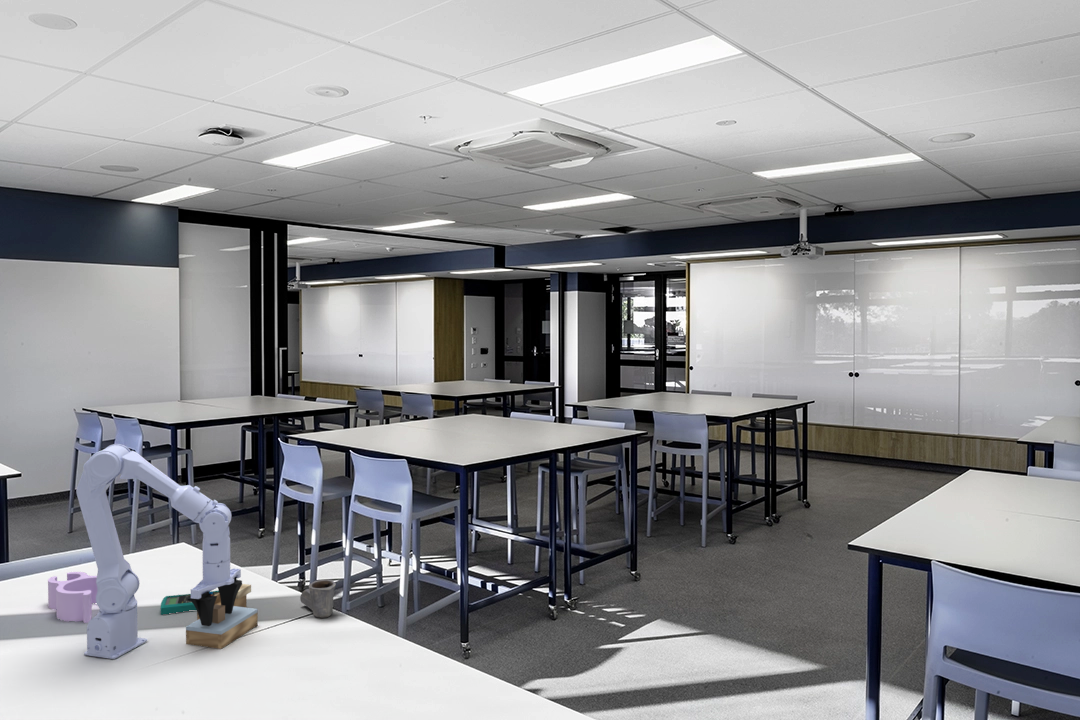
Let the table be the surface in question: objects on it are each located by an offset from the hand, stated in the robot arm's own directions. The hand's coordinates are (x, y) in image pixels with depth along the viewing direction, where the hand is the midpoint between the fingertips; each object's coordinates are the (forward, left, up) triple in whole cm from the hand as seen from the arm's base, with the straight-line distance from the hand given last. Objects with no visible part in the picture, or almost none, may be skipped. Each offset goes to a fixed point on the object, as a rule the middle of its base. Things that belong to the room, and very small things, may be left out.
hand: (217, 619), depth 166 cm
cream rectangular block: (+14, +4, 0) cm, 15 cm away
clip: (+6, +43, -5) cm, 44 cm away
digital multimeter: (+15, +18, -5) cm, 24 cm away
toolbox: (+6, +1, -4) cm, 8 cm away
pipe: (+19, -14, -5) cm, 24 cm away
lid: (+2, 0, -2) cm, 3 cm away
